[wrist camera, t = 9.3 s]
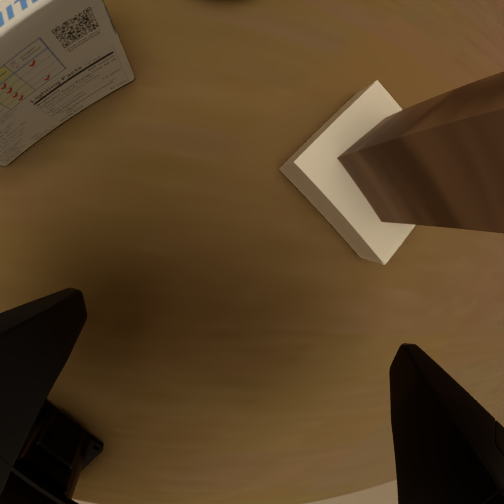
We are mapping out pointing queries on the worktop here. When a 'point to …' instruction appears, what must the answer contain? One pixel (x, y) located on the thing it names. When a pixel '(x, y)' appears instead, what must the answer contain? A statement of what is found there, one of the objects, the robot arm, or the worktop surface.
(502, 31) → the worktop surface
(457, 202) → the walnut column
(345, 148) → the cream plinth
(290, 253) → the worktop surface
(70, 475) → the robot arm
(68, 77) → the light bulb box
